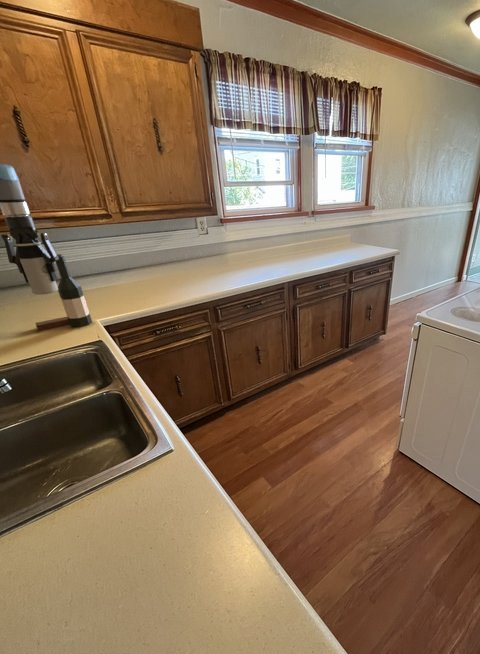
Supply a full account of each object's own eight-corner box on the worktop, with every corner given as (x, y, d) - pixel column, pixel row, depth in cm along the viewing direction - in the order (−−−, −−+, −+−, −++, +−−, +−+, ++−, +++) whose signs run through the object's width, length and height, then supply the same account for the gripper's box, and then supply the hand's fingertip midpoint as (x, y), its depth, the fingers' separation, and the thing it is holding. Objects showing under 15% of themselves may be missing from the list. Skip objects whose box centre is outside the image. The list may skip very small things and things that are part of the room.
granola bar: (38, 330, 138) (36, 325, 137) (37, 327, 141) (35, 322, 140) (71, 323, 144) (69, 318, 143) (69, 321, 148) (67, 316, 146)
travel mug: (28, 294, 122) (8, 244, 114) (48, 288, 129) (31, 241, 121) (43, 295, 120) (23, 245, 112) (63, 290, 127) (46, 241, 118)
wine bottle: (96, 321, 147) (75, 253, 133) (81, 328, 140) (56, 257, 126) (82, 319, 149) (59, 252, 135) (65, 326, 142) (40, 256, 128)
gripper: (55, 214, 117) (76, 277, 127) (-9, 215, 114) (17, 280, 124) (44, 215, 110) (67, 282, 121) (-24, 217, 107) (5, 285, 118)
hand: (42, 281), depth 122 cm, fingers closed on travel mug, 8 cm apart
